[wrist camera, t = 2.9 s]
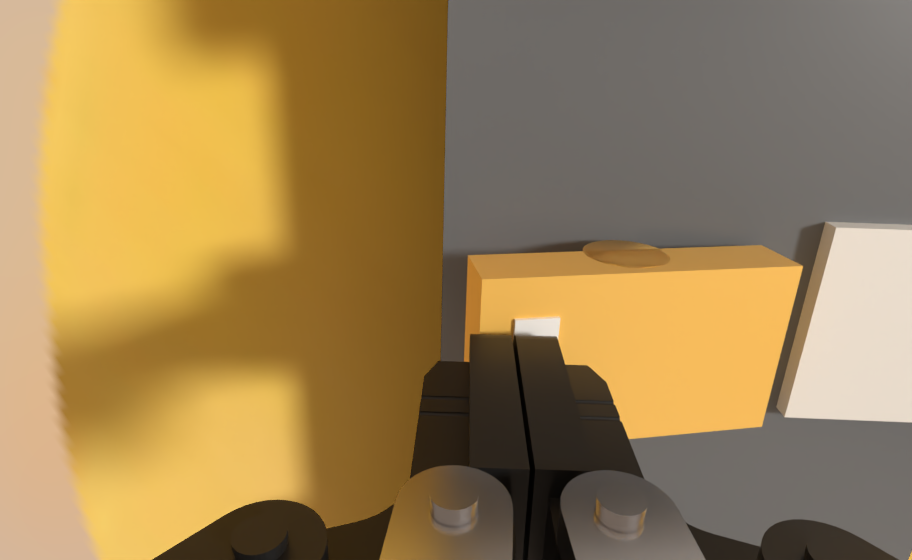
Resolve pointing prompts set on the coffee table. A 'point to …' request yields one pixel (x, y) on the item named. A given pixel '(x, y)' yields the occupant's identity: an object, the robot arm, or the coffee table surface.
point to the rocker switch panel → (715, 213)
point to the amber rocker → (650, 324)
